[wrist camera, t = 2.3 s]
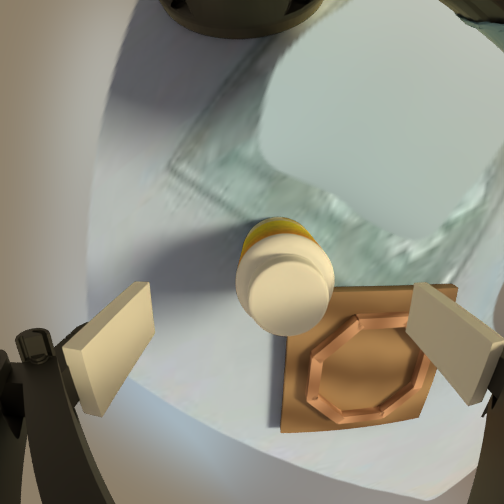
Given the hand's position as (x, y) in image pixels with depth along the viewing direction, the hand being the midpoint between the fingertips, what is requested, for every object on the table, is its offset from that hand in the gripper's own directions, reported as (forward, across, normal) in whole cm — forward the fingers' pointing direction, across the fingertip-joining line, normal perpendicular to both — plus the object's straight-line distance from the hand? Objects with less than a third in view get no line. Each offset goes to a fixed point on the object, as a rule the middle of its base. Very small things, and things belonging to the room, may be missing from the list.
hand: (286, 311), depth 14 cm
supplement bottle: (+11, 0, 0) cm, 11 cm away
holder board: (+11, +9, -10) cm, 18 cm away
